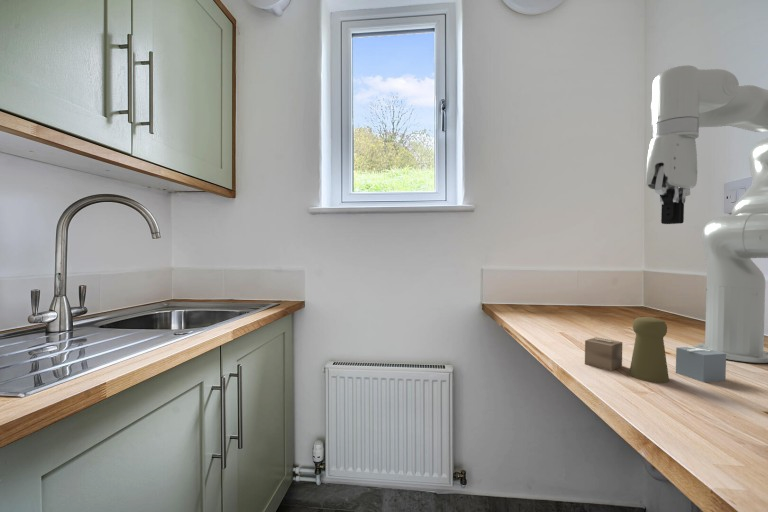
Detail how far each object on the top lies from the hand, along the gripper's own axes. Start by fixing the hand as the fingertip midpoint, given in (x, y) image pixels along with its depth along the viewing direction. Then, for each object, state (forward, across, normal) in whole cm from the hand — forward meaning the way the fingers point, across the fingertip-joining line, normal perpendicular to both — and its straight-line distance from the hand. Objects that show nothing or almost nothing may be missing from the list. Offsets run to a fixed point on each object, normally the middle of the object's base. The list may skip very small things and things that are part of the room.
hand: (672, 223), depth 74 cm
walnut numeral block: (+29, +12, -6) cm, 32 cm away
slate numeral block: (+29, +2, +6) cm, 30 cm away
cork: (+29, +11, +2) cm, 31 cm away
